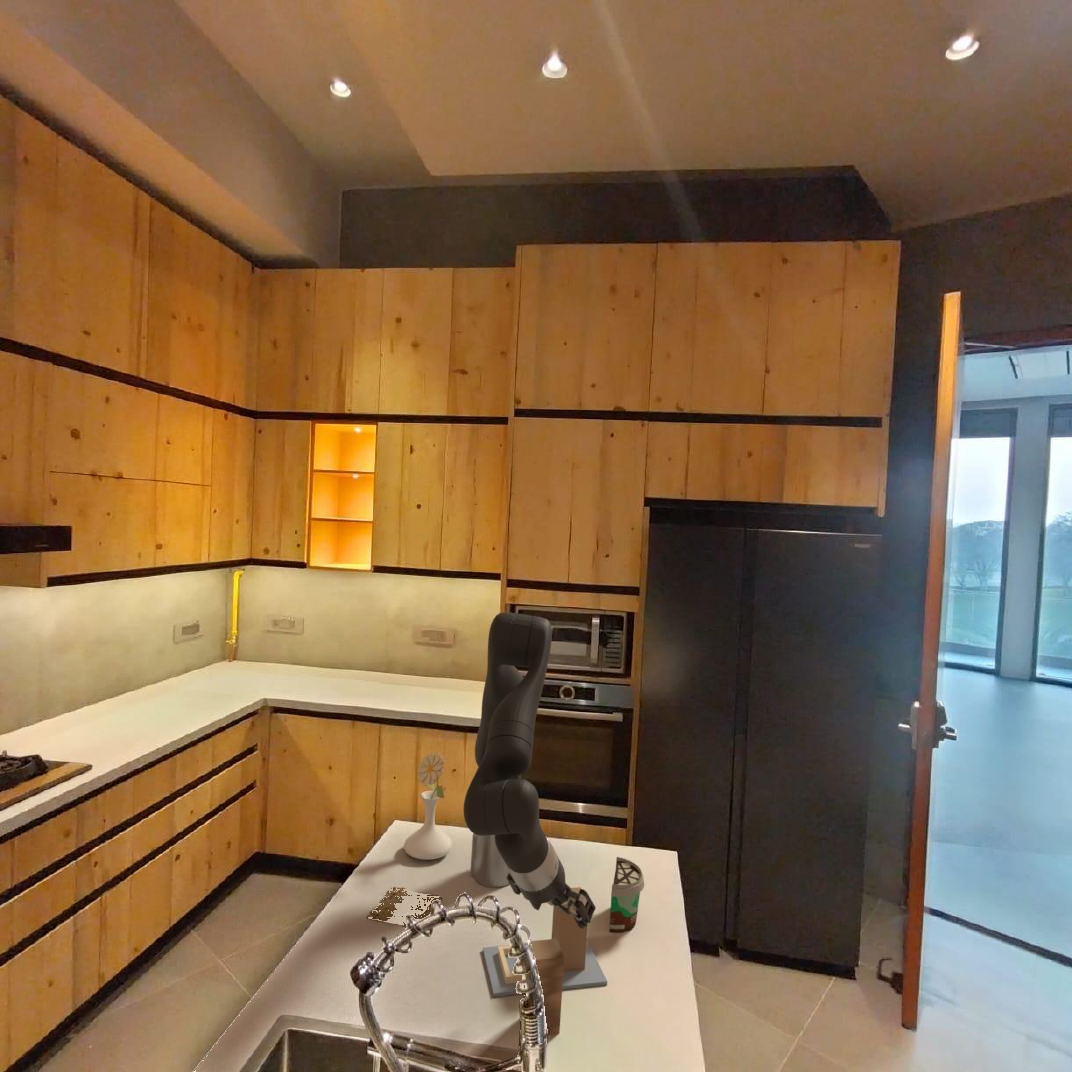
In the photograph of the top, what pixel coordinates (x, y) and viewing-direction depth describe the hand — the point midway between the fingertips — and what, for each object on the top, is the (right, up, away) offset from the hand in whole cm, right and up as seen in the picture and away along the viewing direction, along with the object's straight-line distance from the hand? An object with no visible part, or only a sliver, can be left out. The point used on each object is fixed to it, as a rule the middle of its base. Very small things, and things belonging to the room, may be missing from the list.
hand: (561, 913), depth 110 cm
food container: (+14, -15, +23) cm, 31 cm away
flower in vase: (-30, -12, +45) cm, 55 cm away
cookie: (-31, -13, +23) cm, 40 cm away
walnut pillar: (-3, -14, -6) cm, 16 cm away
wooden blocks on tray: (-3, -14, +7) cm, 16 cm away
